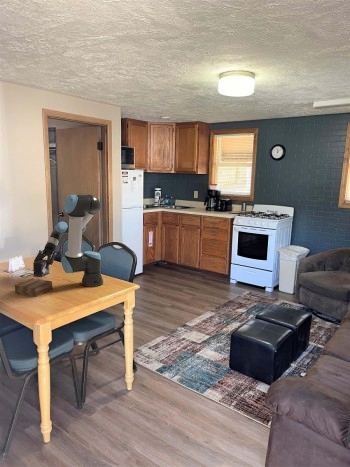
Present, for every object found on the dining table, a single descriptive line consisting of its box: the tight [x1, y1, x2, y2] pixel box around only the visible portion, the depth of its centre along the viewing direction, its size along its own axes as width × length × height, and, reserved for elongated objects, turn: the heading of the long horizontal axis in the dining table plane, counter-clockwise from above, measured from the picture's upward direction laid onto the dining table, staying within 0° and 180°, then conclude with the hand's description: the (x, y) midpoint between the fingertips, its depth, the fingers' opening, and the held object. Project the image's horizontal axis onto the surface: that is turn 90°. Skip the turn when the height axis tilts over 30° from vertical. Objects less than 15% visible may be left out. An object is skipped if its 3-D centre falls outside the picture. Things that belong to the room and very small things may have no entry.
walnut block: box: [14, 277, 53, 298], centre depth 224 cm, size 16×16×6 cm
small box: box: [32, 258, 50, 278], centre depth 241 cm, size 11×6×10 cm, turn 168°
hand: (38, 271), depth 237 cm, fingers closed on small box, 6 cm apart
